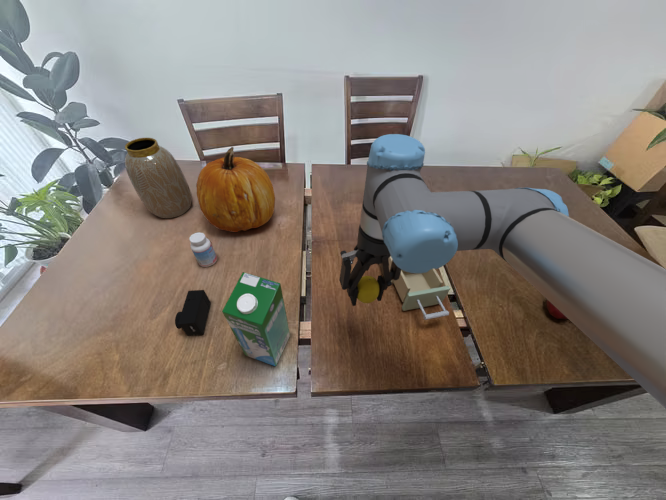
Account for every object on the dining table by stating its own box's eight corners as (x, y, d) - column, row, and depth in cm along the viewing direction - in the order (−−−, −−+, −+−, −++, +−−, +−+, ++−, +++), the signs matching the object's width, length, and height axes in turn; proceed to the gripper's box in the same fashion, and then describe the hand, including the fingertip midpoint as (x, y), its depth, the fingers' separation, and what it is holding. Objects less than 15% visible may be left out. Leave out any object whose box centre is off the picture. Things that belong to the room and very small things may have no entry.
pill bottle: (219, 263, 92) (209, 240, 84) (200, 270, 90) (188, 246, 82) (215, 251, 96) (205, 228, 88) (197, 257, 94) (185, 234, 86)
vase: (203, 199, 116) (179, 136, 96) (178, 225, 104) (145, 160, 85) (168, 191, 118) (137, 129, 98) (139, 216, 107) (98, 152, 87)
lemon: (352, 307, 64) (355, 287, 58) (354, 288, 67) (358, 267, 62) (375, 311, 63) (381, 291, 57) (377, 291, 67) (382, 271, 61)
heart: (532, 293, 87) (546, 323, 82) (549, 281, 81) (566, 313, 75) (568, 293, 88) (584, 323, 82) (588, 282, 82) (607, 314, 76)
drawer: (451, 321, 79) (462, 307, 74) (411, 330, 77) (418, 316, 71) (422, 269, 92) (429, 253, 87) (387, 275, 90) (391, 259, 84)
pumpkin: (270, 197, 118) (258, 127, 96) (283, 231, 104) (273, 158, 82) (206, 209, 111) (178, 137, 89) (212, 248, 97) (179, 173, 75)
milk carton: (244, 355, 72) (218, 305, 53) (261, 325, 78) (242, 271, 59) (275, 366, 70) (259, 319, 52) (290, 335, 76) (280, 282, 58)
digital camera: (192, 303, 82) (183, 290, 77) (211, 302, 82) (203, 289, 77) (182, 336, 75) (172, 324, 70) (203, 335, 75) (194, 322, 70)
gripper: (419, 207, 52) (395, 279, 69) (324, 219, 49) (323, 292, 66) (438, 233, 47) (407, 304, 64) (334, 250, 44) (330, 320, 61)
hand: (365, 298), depth 65 cm, fingers closed on lemon, 5 cm apart
